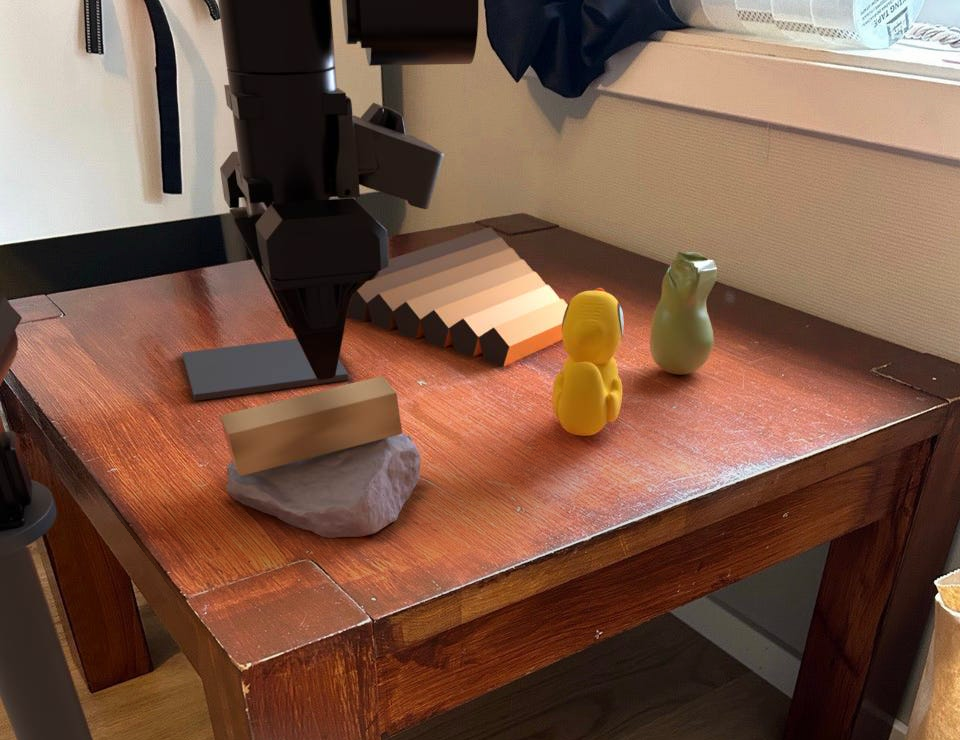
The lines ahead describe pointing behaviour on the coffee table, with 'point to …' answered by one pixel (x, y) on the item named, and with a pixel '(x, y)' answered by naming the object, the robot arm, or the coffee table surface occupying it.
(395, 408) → the maple bar
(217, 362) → the grey mat
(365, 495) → the stone block
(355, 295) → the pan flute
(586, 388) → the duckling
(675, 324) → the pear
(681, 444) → the coffee table surface
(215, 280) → the coffee table surface
